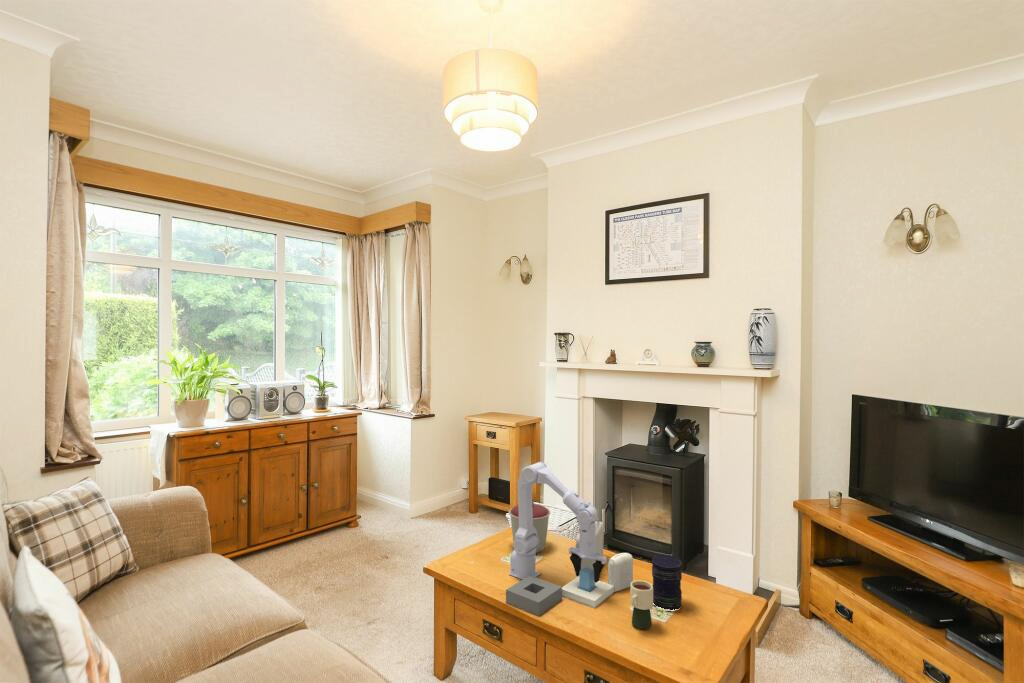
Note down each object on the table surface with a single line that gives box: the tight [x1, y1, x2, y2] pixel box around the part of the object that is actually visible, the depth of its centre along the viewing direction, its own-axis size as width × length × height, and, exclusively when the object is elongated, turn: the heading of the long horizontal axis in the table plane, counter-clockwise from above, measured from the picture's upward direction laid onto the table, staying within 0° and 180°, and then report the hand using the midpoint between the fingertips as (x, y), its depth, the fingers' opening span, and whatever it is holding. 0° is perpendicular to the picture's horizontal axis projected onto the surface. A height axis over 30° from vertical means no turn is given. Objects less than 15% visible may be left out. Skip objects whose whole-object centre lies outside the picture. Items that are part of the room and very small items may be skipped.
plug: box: [579, 567, 595, 592], centre depth 187 cm, size 4×5×8 cm
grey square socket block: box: [505, 576, 563, 617], centre depth 181 cm, size 14×14×4 cm
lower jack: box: [561, 576, 615, 609], centre depth 186 cm, size 14×14×2 cm
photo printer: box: [607, 552, 634, 593], centre depth 191 cm, size 10×4×12 cm, turn 123°
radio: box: [575, 501, 605, 570], centre depth 209 cm, size 22×8×25 cm, turn 159°
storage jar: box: [651, 554, 683, 610], centre depth 179 cm, size 10×10×15 cm
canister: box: [508, 501, 551, 554], centre depth 226 cm, size 18×18×21 cm
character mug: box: [629, 579, 654, 630], centre depth 166 cm, size 11×7×13 cm, turn 135°
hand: (587, 578), depth 186 cm, fingers open, 7 cm apart
